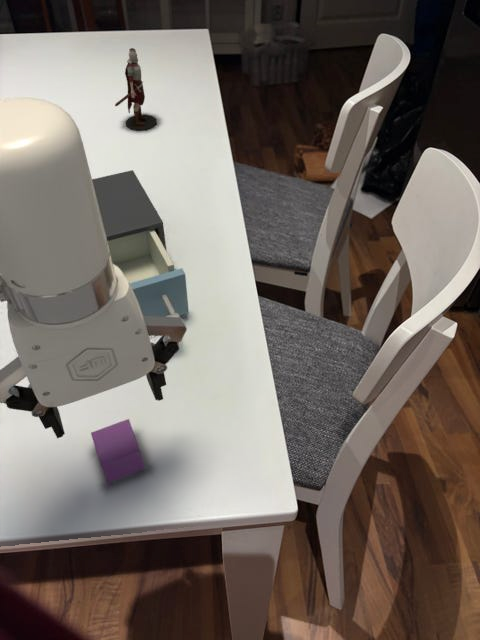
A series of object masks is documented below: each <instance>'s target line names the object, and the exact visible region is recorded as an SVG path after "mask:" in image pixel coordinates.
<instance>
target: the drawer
mask: <svg viewBox="0 0 480 640" xmlns="http://www.w3.org/2000/svg"><path fill="white" fill-rule="evenodd" d="M107 242H108V246H109V250H110V254H111V258H112V262H113V264H114V265H116V266H117V267H118V268H119V269H120V270H121V271H122V273H123V274H124V276H125V277H126V279H127V280H128V282H129V284H130V286H131V288H132V289H133V292H134V294H135V296H136V298H137V301H138V303H139V306H140V309H141V312H142V315H143V316H157V317H180V318H181V316H182V315H185V314H189V312H190V310H189V300H188V289H187V277H186V272H185V271H184V269H183V268H178V269H175V264H174V263H173V261H172V259H171V257H170V255H169V254H168V251H167V249H166V250H165V248H164V246H163V244H162V243H161V241H160V239H159V237H158V235H157V234H156V232H155V230H154V229H152V230H148V231H144V232H140V233H137V234H133V235H129V236H125V237H121V238H118V239H114V240H110V241H107ZM166 251H167V252H166Z"/></svg>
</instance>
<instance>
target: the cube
mask: <svg viewBox="0 0 480 640" xmlns="http://www.w3.org/2000/svg"><path fill="white" fill-rule="evenodd" d="M90 434H91V435H90V436H91V438H92V441H93V445H94V449H95V452H96V454H97V458H98V462H99V465H100V468H101V471H102V473H103V476H104V478H105V480H106V483H107V484H110V483H112V482H116V481H118V480H120V479H123V478H125V477H128V476H130V475H133V474H136V473H138V472H141V471H143V470H145V469H146V468H145V464H144V460H143V457H142V453H141V452H142V451H141V450H140V446H139V444H138V441H137V438H136V435H135V433H134V430H133V427H132V424H131V422H130V419H125V420H122V421H119V422H116V423H114V424H111V425H108V426H105V427H103V428H102V427H101V428H100V429H97V430H95V431H91V432H90Z"/></svg>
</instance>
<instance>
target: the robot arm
mask: <svg viewBox="0 0 480 640" xmlns="http://www.w3.org/2000/svg"><path fill="white" fill-rule="evenodd" d="M92 179H93V178H92V174H91V169H90V166H89V162H88V157H87V154H86V149H85V146H84V142H83V138H82V135H81V132H80V129H79V127H78V125H77V123H76V121H75V120H74V119H73V117H72V115H71V114H69V113H68V111H66V110H65V109H64V108H63V107H61V106H59V105H58V104H56V103H54V102H51V101H49V100H45V99H41V98H36V97H9V98H3V99H2V98H1V99H0V303H2V302H3V303H4V302H6V309H7V321H8V327H9V331H10V335H11V339H12V342H13V346H14V348H15V351H16V353H17V357H15V358H14V359H12V360H11V361H10V362H9V363H7V364H6V365H5V366H3V367H2V368H1V369H0V404H5V405H6V408H7V409H9V410H16V411H24V412H30V415H31V416H32V417H33V418H39V420H40V423H41V424H42V427H44V428H43V429H45V430H48V429H49V428H51V429H52V432H53V433H54V435H55V437H56V439H60V438H62V437H64V435H66V434H65V430H64V425H63V422H62V418H61V414H60V410H59V408H58V407H63V406H66V405H69V404H72V403H76V402H79V401H82V400H84V399H87V398H90V397H94V396H96V395H98V394H102V393H104V392H107V391H110V390H112V389H115V388H118V387H120V386H123V385H126V384H129V383H131V382H134V381H137V380H139V379H141V378H143V377H145V376H146V380H147V382H148V386H149V388H150V391H151V392H152V394H153V397H154V400H155V401H158V402H160V401H162V400H164V396H163V391H162V388H163V387H165V386H167V381H166V375H165V372H166V371H167V370H168V365H167V364H168V362H170V360H171V359H172V358H173V357H174V356H175V355H176V353H177V352H179V350H180V346H179V344H180V343H181V342H182V341H183V339H184V336H185V334H186V332H187V326H186V324H185V321H184V320H183V318H182V317H181V316H180V317H157V316H143V315H142V312H141V309H140V306H139V303H138V301H137V298H136V296H135V294H134V292H133V289H132V288H131V286H130V284H129V282H128V280H127V279H126V277H125V276H124V274H123V273H122V271H121V270H120V269H119V268H118V267H117V266H116V265H114V264H113V262H112V258H111V254H110V250H109V246H108V242H107V238H106V234H105V230H104V226H103V222H102V218H101V214H100V210H99V206H98V202H97V198H96V194H95V190H94V186H93V182H92ZM150 336H153V337H154V336H155V337H156V336H158V337H160V338H159V339H158V340H157V341H156V342H155V343H153V342H151V338H150ZM25 378H27V381H28V383H29V384H28V386H27V387H26V386H21V385H17V384H19V383H20V382H22V381H23V380H24V379H25Z"/></svg>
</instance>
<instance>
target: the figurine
mask: <svg viewBox="0 0 480 640" xmlns="http://www.w3.org/2000/svg"><path fill="white" fill-rule="evenodd" d="M126 62H127V64H126V67H125V70H124V75H125V78H126V79H125V80H126V85H127V94H126V95H125V96H123V97H122V98H121V99H120V100H118V101H117V102H115V104H114V107H118V106H119V105H121V104H122V103H123V102H125V101H126V100H127V110H128V114H130V113H131V108H133V114H134V115H132V116H130V117H128V118H127V119H126V120H125V127H126V128H128V129H129V130H132V131H137V132H138V131H139V132H142V131H143V132H144V131H149V130H152V129H154V128H155V127H156V126H157V125H158V120H157V118H156V117H155V116H153V115H149V114H146V113H145V114H142V107H141V106H143V105H144V103H145V100H146V99H145V98H146V96H145V89H144V84H143V83H144V81H143V80H142V69H141V66H140V64H139V58H138V54H137V50H136V49H135V48H133V47H131V48H129V52H128V59H127V61H126Z"/></svg>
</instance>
